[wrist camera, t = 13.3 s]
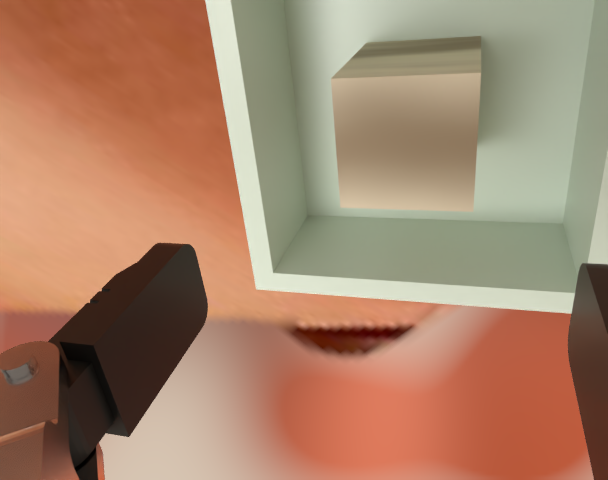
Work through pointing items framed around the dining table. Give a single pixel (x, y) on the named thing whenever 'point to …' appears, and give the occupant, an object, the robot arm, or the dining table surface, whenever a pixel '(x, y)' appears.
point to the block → (408, 124)
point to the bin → (489, 161)
